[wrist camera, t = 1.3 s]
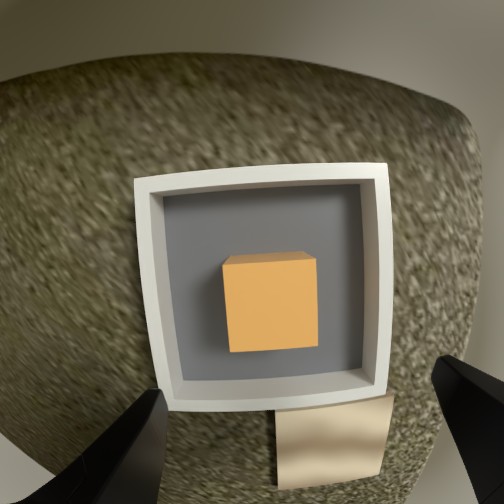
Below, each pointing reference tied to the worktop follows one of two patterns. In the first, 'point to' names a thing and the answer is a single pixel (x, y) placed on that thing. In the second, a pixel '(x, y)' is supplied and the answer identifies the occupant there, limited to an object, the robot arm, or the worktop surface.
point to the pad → (331, 441)
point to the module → (271, 301)
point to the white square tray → (260, 242)
